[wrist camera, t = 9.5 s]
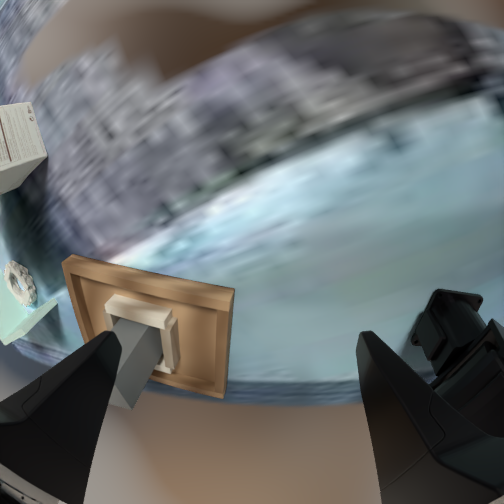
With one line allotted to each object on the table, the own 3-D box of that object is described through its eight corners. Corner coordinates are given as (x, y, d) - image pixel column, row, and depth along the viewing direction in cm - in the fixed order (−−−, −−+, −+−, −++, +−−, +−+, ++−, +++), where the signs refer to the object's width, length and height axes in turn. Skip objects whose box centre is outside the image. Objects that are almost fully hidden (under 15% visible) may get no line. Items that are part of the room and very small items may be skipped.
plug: (155, 315, 27) (112, 381, 18) (167, 345, 28) (132, 410, 20) (124, 313, 27) (79, 371, 19) (136, 341, 29) (98, 400, 21)
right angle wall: (59, 301, 31) (25, 334, 24) (31, 318, 35) (4, 345, 28) (15, 224, 27) (-25, 249, 20) (-6, 257, 31) (-37, 279, 24)
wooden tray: (234, 288, 24) (228, 306, 22) (226, 385, 31) (221, 402, 28) (72, 254, 26) (58, 265, 24) (97, 347, 32) (87, 359, 30)
